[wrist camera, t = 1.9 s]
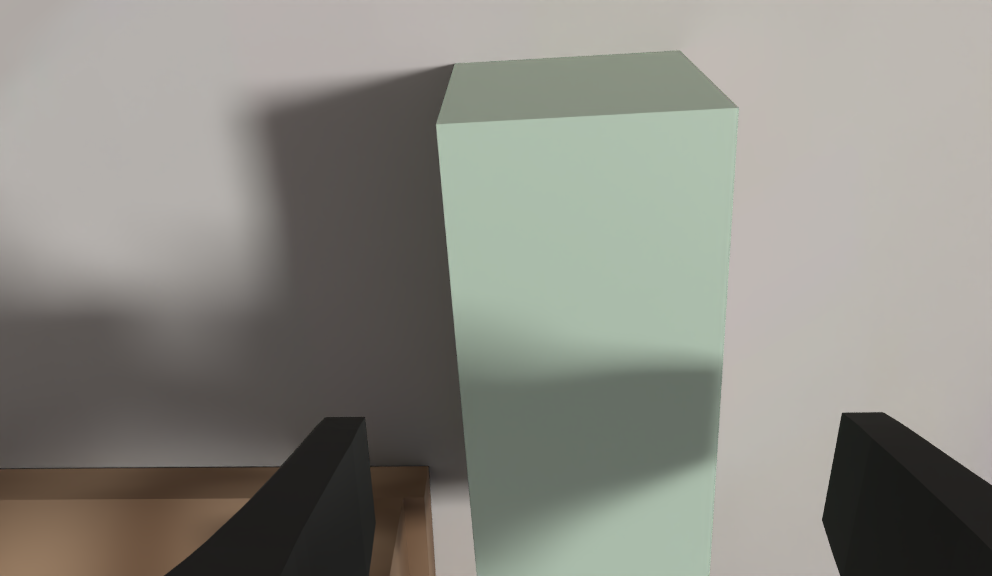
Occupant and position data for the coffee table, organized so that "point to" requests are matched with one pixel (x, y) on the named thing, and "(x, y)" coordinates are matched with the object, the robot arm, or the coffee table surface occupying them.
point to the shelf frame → (176, 518)
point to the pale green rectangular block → (589, 307)
